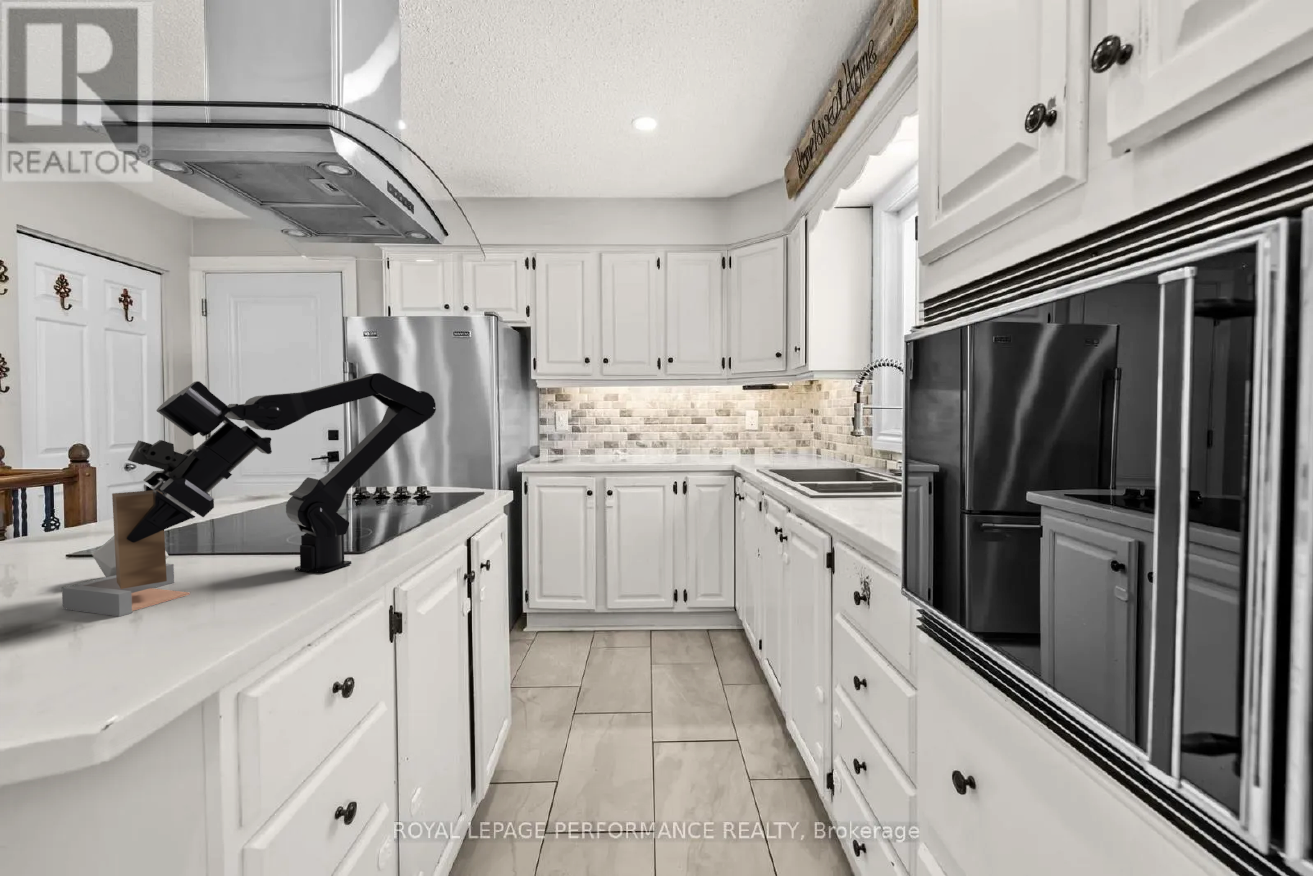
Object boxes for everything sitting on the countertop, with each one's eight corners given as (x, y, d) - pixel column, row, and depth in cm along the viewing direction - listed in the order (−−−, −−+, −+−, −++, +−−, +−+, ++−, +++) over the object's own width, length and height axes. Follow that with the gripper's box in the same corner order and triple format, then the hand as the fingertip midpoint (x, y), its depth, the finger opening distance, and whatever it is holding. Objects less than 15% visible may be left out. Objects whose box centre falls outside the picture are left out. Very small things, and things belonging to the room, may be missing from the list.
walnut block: (160, 574, 90) (156, 489, 89) (166, 581, 87) (162, 493, 86) (116, 582, 86) (112, 493, 86) (120, 589, 83) (116, 496, 82)
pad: (150, 590, 91) (150, 588, 91) (189, 594, 89) (189, 592, 89) (89, 606, 84) (88, 604, 84) (130, 611, 82) (130, 609, 82)
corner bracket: (167, 581, 96) (166, 563, 96) (219, 587, 93) (218, 568, 93) (62, 608, 83) (61, 587, 83) (119, 616, 80) (118, 594, 80)
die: (114, 592, 92) (161, 538, 96) (66, 565, 92) (115, 512, 96) (147, 596, 100) (189, 546, 103) (102, 571, 100) (146, 521, 103)
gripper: (158, 420, 95) (64, 496, 87) (182, 421, 82) (74, 511, 74) (220, 465, 101) (138, 540, 93) (251, 473, 88) (158, 561, 81)
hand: (127, 537), depth 85 cm, fingers closed on walnut block, 5 cm apart
